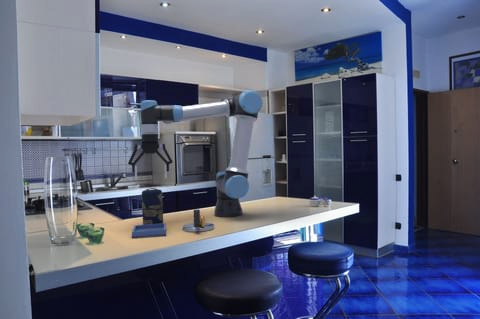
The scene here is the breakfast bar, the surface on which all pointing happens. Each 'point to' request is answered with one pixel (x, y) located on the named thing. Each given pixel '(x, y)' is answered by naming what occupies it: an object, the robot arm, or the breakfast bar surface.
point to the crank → (197, 219)
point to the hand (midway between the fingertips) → (151, 179)
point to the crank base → (192, 229)
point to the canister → (152, 206)
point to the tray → (149, 230)
